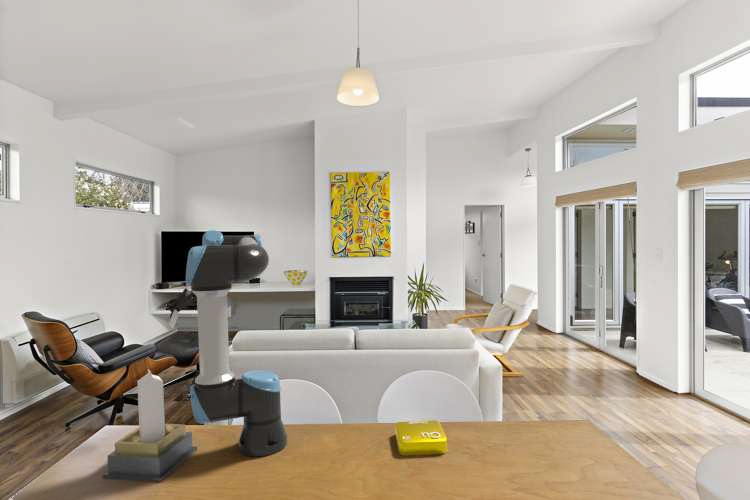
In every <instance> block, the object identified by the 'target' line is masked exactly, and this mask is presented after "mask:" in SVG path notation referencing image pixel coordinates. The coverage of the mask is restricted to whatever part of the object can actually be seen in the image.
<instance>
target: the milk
mask: <svg viewBox="0 0 750 500" xmlns="http://www.w3.org/2000/svg"><path fill="white" fill-rule="evenodd" d="M164 397H165V396H164V380H163V379H162V378H161V377H160V376H158V375H155V374H152V371H151V370H150V369H149V368H147V373H146V374H145V375H143V376H142V377H141V378H140V379H137V404H138V405H137V406H138V407H137V409H138V426H139V427H138V428H139V431H140V442H142V443H157V442H159V441H160V440H161V439H163V438H164V437H165V424H166V422H165V419H166V418H165V400H164Z"/></svg>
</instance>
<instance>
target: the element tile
mask: <svg viewBox="0 0 750 500" xmlns="http://www.w3.org/2000/svg"><path fill="white" fill-rule="evenodd" d="M394 426H395V427H394V429H395V430H394V432H395V441H396V444H397V449H398V450H397V451H398V454H400V455H402V456H422V455H442V454H446V453H447V452H448V437H447V435H446V433H445V431H444V429H443V426H442V424H441V423H440V422H439V421H438V420H436V419H435V420H433V419H432V420H431V419H430V420H415V421H411V420H410V421H398V422H396V423H395V424H394Z"/></svg>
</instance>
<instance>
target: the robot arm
mask: <svg viewBox="0 0 750 500" xmlns="http://www.w3.org/2000/svg"><path fill="white" fill-rule="evenodd" d="M262 243H263V242H262V237H261V236H260V235H255V234H251V235H249V234H247V235H223V233H222V232H221V231H219V230H216V229H211V230H207V231H206V232H204V233H203V235H202V243H201V245H198V246H193V247H191V248H190V250H189V251H188V255H187V261H186V269H185V285H186V286H190V289H189V290H188V288H184V289H183V291H182V292H181V294H179V296H178V297H177V298H176V299H174V301H172V303H170V304H169V305H168V306H167V309H168V310H169V312H170V315H169V322H168V324H167V325H168V327H169V328H170V330H173V329H174V328H175V326H176V324H177V320H178V318H179V316H180V313H179V312H181V311H182V310H183V309H185V308H186V307H188V306H189V305H190V304H192V303H194V302H196V303H197V304H196V305H197V306H196V307H197V328H198V330H197V332H198V333H197V334H198V356H199V357H198V359H199V374H198V375H197V376H196V377H195V378H194V383H193V384H192V385H190V386H189V396H190V404H191V410H192V415H193V418H194V421H195V422H196V423H198V424H209V423H210V424H213V423H216V422H217V423H218V422H221V421H227V420H228V421H229V420H234V419H239V418H243V425H242V429H241V432H240V436H239V440H238V450H239V453H241V454H242V455H244V456H249V457H265V456H269V455H273V454H275V453H278V452H280V451H281V450H283V449H284V448H285V447H286V446H287V444H288V433H287V430H286V428H285V425H284V422H283V421H282V410H281V409H282V408H281V406H282V405H281V391H282V388H281V384H280V382H281V381H280V377H279V376H278V375H277V374H276V373H274V372H272V371H268V370H249V371H245V372H244V373H243V374H242V375H241V378H237V379H236V375H235V373H234V372H233V371H232V370H231V369H230V348H229V323H228V322H229V321H228V319H229V318H228V296H227V295H228V293H229V292H230V291H231V290H232V288H233V287H232V284H233V283H242V282H247V281H250V280H253V279H255V278H257V277H258V276H260V275H261V274H263V273H264V272H265V270H266V269H267V267H268V265H269V262H270V261H269V260H270V258H269V255H268V254H269V253H268V251H266V249H265V248H264V247H263V246H262V245H263V244H262Z"/></svg>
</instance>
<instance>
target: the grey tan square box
mask: <svg viewBox="0 0 750 500" xmlns="http://www.w3.org/2000/svg"><path fill="white" fill-rule="evenodd" d="M197 450H198V446H193V432H192V431H191V432H189V431H186V424H181V423H179V424H178V423H165V437H164V438H163V439H161V440H160V441H159V442H157V443H142V442H140V431H139V427H137V428H136V429H135V430H133V431H131V432H130V433H128V434H127V435H125V436H124V437H122V438H121V439H119V440H118V441H116V442H114V451H112V452H111V453H109V454H108V455H107V469H108V470H107V471H106V472H104V473H103V474H102V479H109V480H111V479H112V480H122V481H123V480H124V481H125V480H127V481H138V482H139V481H140V482H141V481H142V482H153V483H155V482H157V483H162V482H163V481H164V480H165V479H166V478H167V477H168V476H170V475H171V473H173V472H174V471H175V470H176V469H177V468H179V467H180V465H182V464H183V463H185V461H186V460H188V459H189V458H190V457H191V456H193V454H194V453H196V451H197Z"/></svg>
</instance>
